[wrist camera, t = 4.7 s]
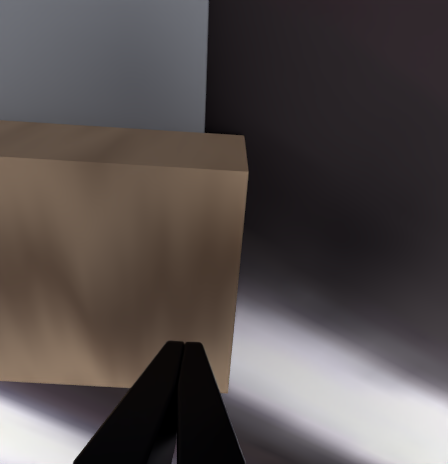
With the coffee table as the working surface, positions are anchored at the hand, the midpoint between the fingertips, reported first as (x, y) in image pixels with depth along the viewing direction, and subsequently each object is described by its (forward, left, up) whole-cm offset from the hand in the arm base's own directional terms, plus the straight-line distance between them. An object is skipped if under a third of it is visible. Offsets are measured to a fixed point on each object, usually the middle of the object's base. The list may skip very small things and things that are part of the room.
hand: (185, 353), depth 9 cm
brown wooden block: (0, -1, -4) cm, 4 cm away
